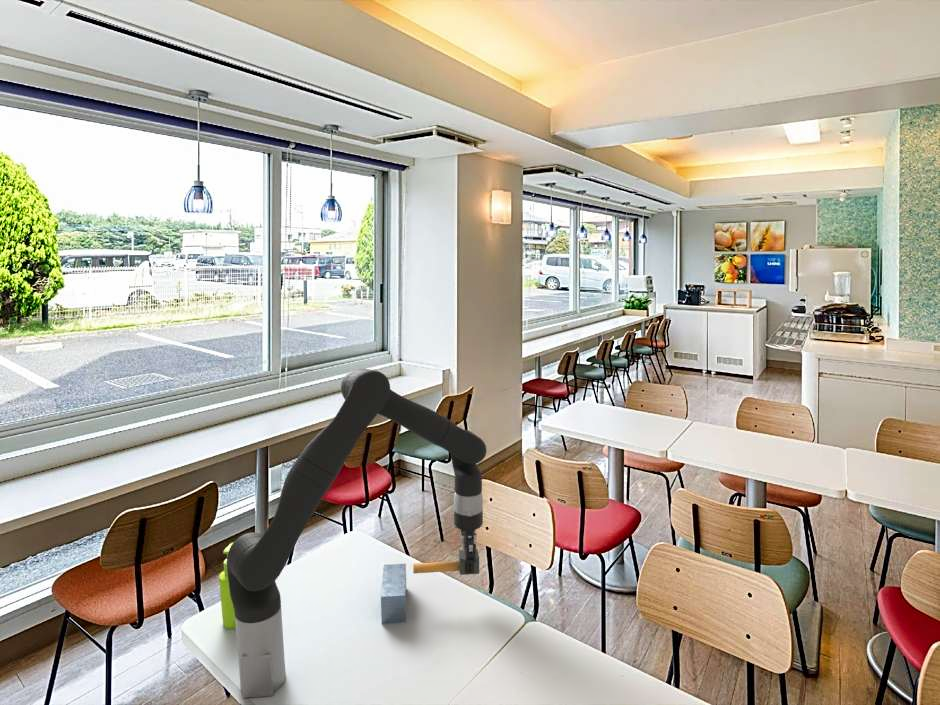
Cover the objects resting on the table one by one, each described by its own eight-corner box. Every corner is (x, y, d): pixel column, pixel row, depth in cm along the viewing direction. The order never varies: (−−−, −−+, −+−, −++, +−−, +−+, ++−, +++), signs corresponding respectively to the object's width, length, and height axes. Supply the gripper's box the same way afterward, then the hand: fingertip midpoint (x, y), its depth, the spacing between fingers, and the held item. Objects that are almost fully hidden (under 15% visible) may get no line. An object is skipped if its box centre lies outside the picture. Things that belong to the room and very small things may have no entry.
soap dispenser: (254, 612, 147) (248, 540, 143) (241, 629, 140) (235, 555, 137) (232, 610, 148) (226, 539, 144) (218, 628, 141) (211, 553, 137)
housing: (405, 622, 143) (405, 595, 142) (381, 623, 142) (380, 596, 141) (406, 588, 157) (405, 563, 156) (384, 589, 157) (383, 564, 155)
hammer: (479, 573, 148) (479, 557, 147) (413, 577, 146) (413, 561, 146) (477, 564, 153) (477, 548, 152) (413, 568, 151) (413, 552, 150)
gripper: (451, 496, 153) (452, 554, 157) (455, 521, 140) (456, 584, 143) (479, 495, 154) (479, 553, 157) (486, 519, 140) (486, 582, 143)
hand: (468, 567), depth 150 cm, fingers closed on hammer, 4 cm apart
